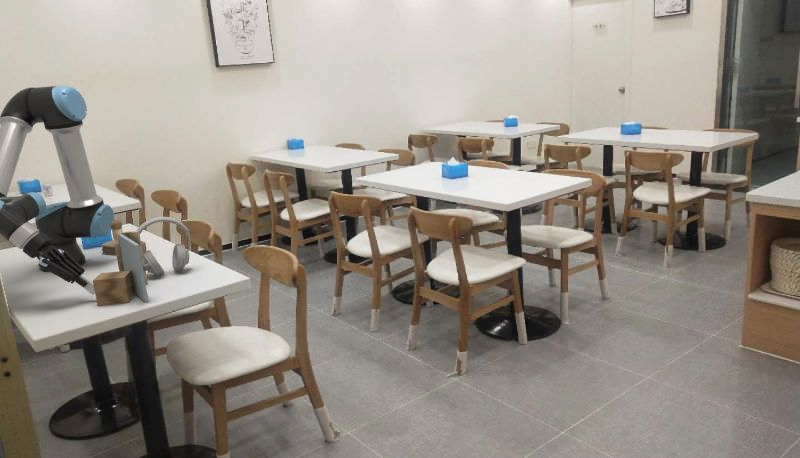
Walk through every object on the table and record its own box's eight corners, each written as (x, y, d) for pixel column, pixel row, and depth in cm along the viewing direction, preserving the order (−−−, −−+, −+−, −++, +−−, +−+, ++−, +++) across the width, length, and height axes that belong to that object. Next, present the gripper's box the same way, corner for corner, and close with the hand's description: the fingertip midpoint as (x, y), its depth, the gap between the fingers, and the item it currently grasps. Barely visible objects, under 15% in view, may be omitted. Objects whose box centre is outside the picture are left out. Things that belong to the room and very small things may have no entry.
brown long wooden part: (119, 288, 197) (107, 221, 192) (123, 284, 201) (112, 219, 195) (145, 286, 198) (134, 220, 192) (148, 282, 201) (138, 217, 195)
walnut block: (97, 305, 182) (92, 280, 180) (105, 297, 189) (100, 273, 187) (128, 302, 184) (124, 277, 182) (135, 294, 190) (131, 270, 188)
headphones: (140, 283, 201) (130, 224, 196) (136, 276, 209) (126, 219, 204) (198, 271, 210) (189, 215, 205) (192, 265, 218) (184, 210, 213)
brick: (101, 254, 240) (99, 243, 238) (119, 248, 247) (117, 237, 246) (130, 258, 232) (128, 246, 231) (148, 252, 239) (146, 241, 238)
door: (144, 301, 182) (135, 245, 178) (126, 286, 197) (117, 234, 193) (157, 298, 185) (148, 242, 180) (138, 283, 200) (130, 231, 195)
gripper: (35, 243, 189) (98, 292, 193) (11, 256, 176) (79, 307, 181) (50, 226, 187) (113, 275, 192) (26, 237, 175) (94, 289, 179)
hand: (96, 291), depth 186 cm, fingers closed
